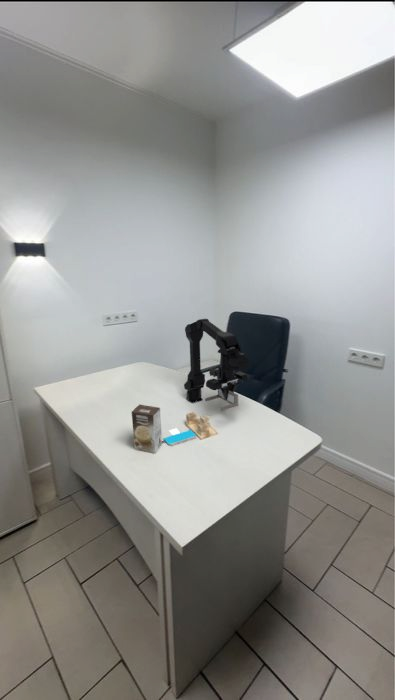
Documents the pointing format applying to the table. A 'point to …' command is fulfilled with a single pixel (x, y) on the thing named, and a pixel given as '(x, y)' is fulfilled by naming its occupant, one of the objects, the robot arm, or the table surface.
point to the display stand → (200, 426)
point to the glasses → (231, 399)
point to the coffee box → (147, 428)
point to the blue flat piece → (179, 437)
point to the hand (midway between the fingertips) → (227, 398)
